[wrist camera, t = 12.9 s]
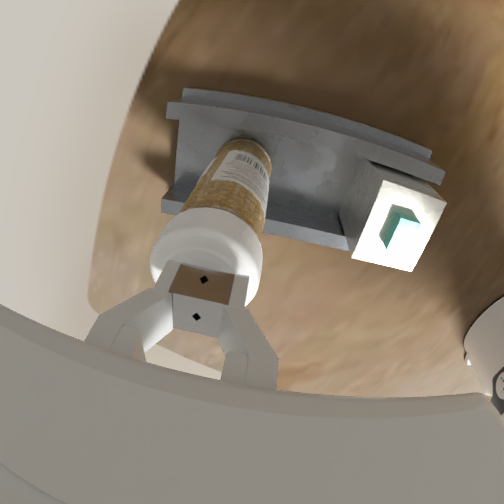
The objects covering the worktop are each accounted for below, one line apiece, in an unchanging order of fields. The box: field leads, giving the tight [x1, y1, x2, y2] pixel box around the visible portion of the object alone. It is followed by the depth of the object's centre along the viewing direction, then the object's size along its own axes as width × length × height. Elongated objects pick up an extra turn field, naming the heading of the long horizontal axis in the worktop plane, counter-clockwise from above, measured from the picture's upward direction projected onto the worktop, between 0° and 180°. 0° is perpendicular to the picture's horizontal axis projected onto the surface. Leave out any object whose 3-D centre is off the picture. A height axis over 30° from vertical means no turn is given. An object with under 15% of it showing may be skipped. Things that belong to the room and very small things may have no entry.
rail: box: [161, 87, 447, 271], centre depth 20 cm, size 20×10×8 cm, turn 80°
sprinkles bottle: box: [150, 139, 272, 306], centre depth 17 cm, size 5×5×14 cm
